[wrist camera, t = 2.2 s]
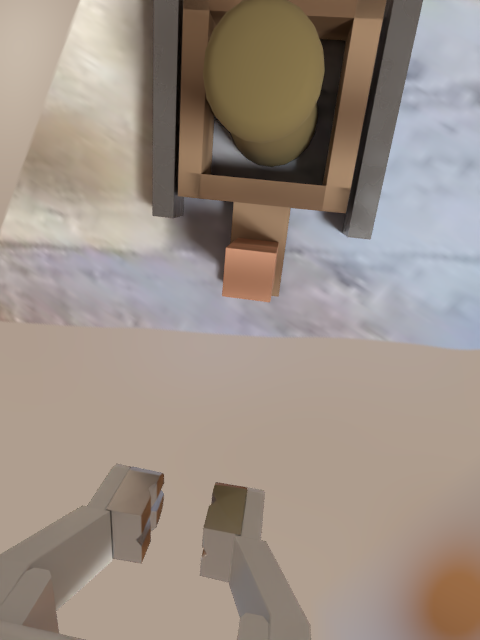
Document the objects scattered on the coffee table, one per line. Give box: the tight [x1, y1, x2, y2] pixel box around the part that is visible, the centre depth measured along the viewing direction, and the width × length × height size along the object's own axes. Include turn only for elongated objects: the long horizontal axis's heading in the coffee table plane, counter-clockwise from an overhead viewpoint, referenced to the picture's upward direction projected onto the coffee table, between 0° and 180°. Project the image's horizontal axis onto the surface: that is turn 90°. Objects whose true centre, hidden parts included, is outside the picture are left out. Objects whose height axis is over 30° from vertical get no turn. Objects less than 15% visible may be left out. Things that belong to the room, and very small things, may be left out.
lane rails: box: [153, 0, 423, 239], centre depth 23 cm, size 14×15×2 cm
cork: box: [203, 0, 325, 167], centre depth 19 cm, size 6×6×11 cm
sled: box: [178, 0, 386, 302], centre depth 22 cm, size 18×11×6 cm, turn 174°
